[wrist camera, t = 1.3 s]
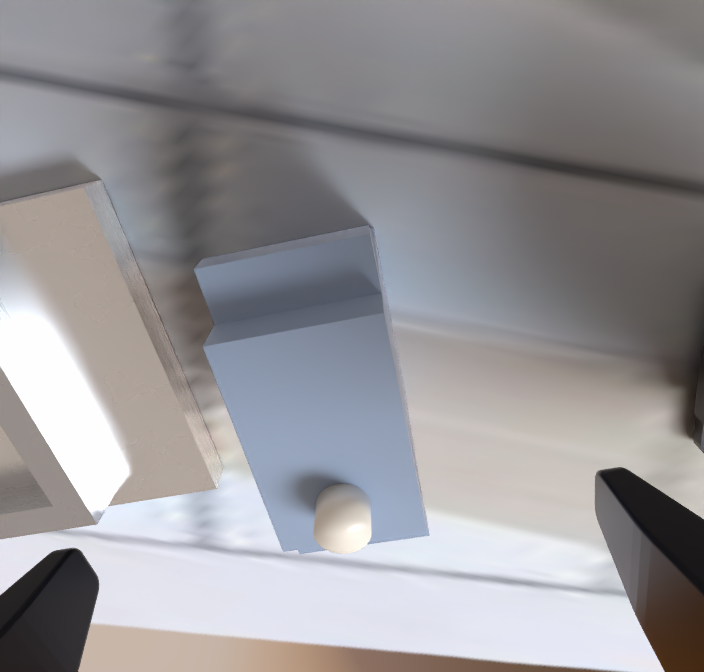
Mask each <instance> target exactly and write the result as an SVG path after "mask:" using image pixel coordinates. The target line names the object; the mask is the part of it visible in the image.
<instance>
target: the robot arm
mask: <svg viewBox="0 0 704 672" xmlns="http://www.w3.org/2000/svg"><path fill="white" fill-rule="evenodd" d="M694 414H695V416H696V421H695V429H694V437H693V439H694V443H695V444H696V445H697V446H698V447H699V449H700V450H701V451H702V452H703V453H704V346H703V348H702V350H701V358H700V366H699V375H698V383H697V391H696V399H695V407H694ZM595 512H596V516H597V520H598V522H599V525H600V528H601V530H602V533H603V535H604V538H605V540H606V543H607V545H608V548H609V550H610V553H611V555H612V558H613V560H614V563H615V565H616V568H617V570H618V573H619V575H620V578H621V580H622V583H623V585H624V588H625V590H626V593H627V595H628V598H629V600H630V603H631V605H632V608H633V610H634V612H635V615H636V617H637V619H638V621H639V623H640V625H641V627H642V629H643V631H644V633H645V635H646V637H647V639H648V641H649V642H650V644H651V646H652V648H653V650H654V652H655V654H656V656H657V658H658V660H659V661H660V663H661V665H662V667H663V669H664V671H665V672H704V519H702V518H701V517H699V516H698V515H696V514H695V513H693V512H692V511H690V510H689V509H687V508H686V507H684V506H682V505H681V504H679V503H678V502H676V501H675V500H673V499H672V498H670V497H669V496H667V495H666V494H664V493H663V492H661V491H660V490H658V489H656V488H655V487H653V486H652V485H650V484H649V483H647V482H646V481H644V480H643V479H641V478H640V477H638V476H637V475H635V474H634V473H632V472H631V471H629V470H627V469H625V468H622V467H618V468H611V469H604V470H600V471H598V472H597V473H596V476H595ZM98 591H99V580H98V576H97V574H96V573H95V571H94V570H93V568H92V567H91V565H90V564H89V562H88V561H87V559H86V558H85V556H84V555H83V553H82V552H81V551H80V550H79V549H77V548H68V549H61V550H56V551H53V552H51V553H50V554H49V555H47V556H46V557H45V558H44V559H43V560H41V561H40V562H39V563H38V564H37V565H36V566H34V567H33V568H32V569H31V570H30V571H28V572H27V573H26V574H25V575H24V576H23V577H21V578H20V579H19V580H18V581H17V582H16V583H14V584H13V585H12V586H11V587H10V588H8V589H7V590H6V591H5V592H4V593H3V594H1V595H0V672H78V669H79V666H80V662H81V658H82V654H83V650H84V646H85V643H86V639H87V635H88V631H89V627H90V623H91V619H92V615H93V611H94V607H95V603H96V599H97V595H98Z"/></svg>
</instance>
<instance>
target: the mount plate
mask: <svg viewBox="0 0 704 672" xmlns="http://www.w3.org/2000/svg"><path fill="white" fill-rule="evenodd" d="M222 471H223V466H222V463H221V461H220V458H219V456H218V454H217V451H216V449H215V447H214V444H213V442H212V440H211V437H210V435H209V432H208V430H207V428H206V425H205V423H204V421H203V418H202V416H201V414H200V411H199V409H198V407H197V404H196V402H195V399H194V397H193V395H192V392H191V390H190V388H189V385H188V383H187V381H186V378H185V376H184V374H183V371H182V369H181V366H180V364H179V362H178V359H177V357H176V355H175V352H174V350H173V348H172V345H171V343H170V340H169V338H168V336H167V333H166V331H165V329H164V326H163V324H162V322H161V319H160V317H159V315H158V312H157V310H156V307H155V305H154V303H153V300H152V298H151V296H150V293H149V291H148V289H147V286H146V284H145V282H144V279H143V277H142V274H141V272H140V270H139V267H138V265H137V263H136V260H135V258H134V256H133V253H132V251H131V248H130V246H129V244H128V241H127V239H126V237H125V234H124V232H123V230H122V227H121V225H120V223H119V220H118V218H117V215H116V213H115V211H114V208H113V206H112V204H111V201H110V199H109V197H108V194H107V192H106V190H105V187H104V185H103V182H102V180H98V181H93V182H89V183H84V184H80V185H75V186H71V187H66V188H62V189H58V190H53V191H49V192H44V193H40V194H35V195H31V196H26V197H22V198H18V199H13V200H9V201H4V202H0V539H5V538H12V537H18V536H25V535H31V534H38V533H44V532H50V531H57V530H63V529H70V528H76V527H83V526H89V525H96V524H98V522H99V520H100V519H101V517H102V515H103V513H104V511H105V510H106V508H107V506H112V505H118V504H124V503H131V502H137V501H143V500H150V499H156V498H162V497H169V496H175V495H181V494H188V493H194V492H200V491H207V490H213V489H217V487H218V484H219V481H220V477H221V474H222Z"/></svg>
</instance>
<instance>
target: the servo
mask: <svg viewBox="0 0 704 672" xmlns="http://www.w3.org/2000/svg"><path fill="white" fill-rule="evenodd" d="M194 272H195V274H196V277H197V280H198V282H199V285H200V288H201V291H202V293H203V296H204V299H205V301H206V304H207V307H208V309H209V312H210V315H211V317H212V320H213V323H214V327H213V328H212V330H211V332H210V334H209V336H208V338H207V340H206V341H205V343H204V345H203V349H204V352H205V354H206V357H207V359H208V362H209V364H210V367H211V369H212V372H213V374H214V377H215V380H216V382H217V385H218V387H219V390H220V392H221V395H222V397H223V400H224V402H225V405H226V408H227V410H228V413H229V415H230V418H231V420H232V423H233V425H234V428H235V430H236V433H237V436H238V438H239V441H240V443H241V446H242V448H243V451H244V453H245V456H246V458H247V461H248V464H249V466H250V469H251V471H252V474H253V476H254V479H255V481H256V484H257V486H258V489H259V492H260V494H261V497H262V499H263V502H264V504H265V507H266V509H267V512H268V514H269V517H270V520H271V522H272V525H273V527H274V530H275V532H276V535H277V537H278V540H279V542H280V545H281V548H282V550H283V552H285V551H292V550H298V551H299V554H303V553H310V552H317V551H324V550H328V551H330V552H334V553H341V554H343V553H352V552H355V551H358V550H360V549H362V548H363V547H365V546H366V545H367V544H373V543H380V542H387V541H394V540H401V539H408V538H415V537H422V536H429V530H428V524H427V518H426V512H425V507H424V502H423V497H422V492H421V487H420V481H419V475H418V469H417V462H416V456H415V450H414V443H413V437H412V431H411V425H410V418H409V412H408V406H407V399H406V393H405V388H404V383H403V378H402V373H401V367H400V362H399V357H398V352H397V347H396V341H395V336H394V331H393V326H392V321H391V315H390V310H389V305H388V300H387V295H386V289H385V284H384V279H383V274H382V269H381V263H380V258H379V253H378V248H377V243H376V237H375V232H374V227H373V228H370V227H369V225H366V226H361V227H356V228H351V229H346V230H341V231H336V232H331V233H326V234H322V235H317V236H312V237H307V238H302V239H297V240H292V241H287V242H282V243H278V244H273V245H268V246H263V247H258V248H253V249H248V250H243V251H238V252H233V253H229V254H224V255H219V256H214V257H209V258H204V259H202V260H201V261H200V262H199V263H198V265H197V266H196V267H195V268H194Z"/></svg>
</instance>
